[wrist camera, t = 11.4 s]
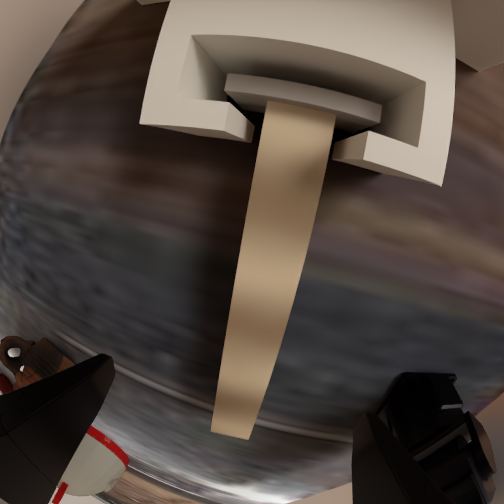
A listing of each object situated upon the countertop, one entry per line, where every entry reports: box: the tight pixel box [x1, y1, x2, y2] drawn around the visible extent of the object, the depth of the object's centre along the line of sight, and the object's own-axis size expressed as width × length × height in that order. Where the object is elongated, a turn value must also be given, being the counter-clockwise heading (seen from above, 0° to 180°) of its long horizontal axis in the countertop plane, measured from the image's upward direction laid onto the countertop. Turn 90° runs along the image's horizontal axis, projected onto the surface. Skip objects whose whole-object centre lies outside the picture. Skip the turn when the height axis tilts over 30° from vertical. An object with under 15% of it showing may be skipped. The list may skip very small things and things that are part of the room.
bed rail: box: [211, 73, 382, 440], centre depth 16 cm, size 23×6×5 cm, turn 170°
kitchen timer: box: [52, 426, 129, 504], centre depth 24 cm, size 14×14×15 cm
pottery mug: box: [0, 336, 75, 390], centre depth 23 cm, size 12×10×8 cm
